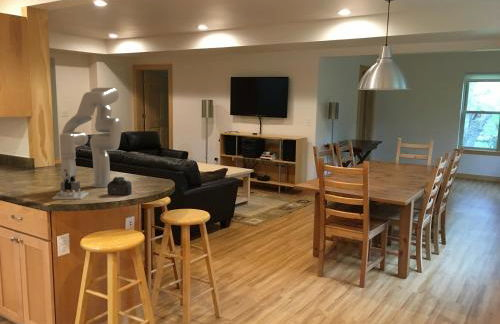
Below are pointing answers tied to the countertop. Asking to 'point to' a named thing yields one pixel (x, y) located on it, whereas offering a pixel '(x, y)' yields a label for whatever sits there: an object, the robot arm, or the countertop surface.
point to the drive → (74, 185)
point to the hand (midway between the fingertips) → (70, 188)
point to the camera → (119, 186)
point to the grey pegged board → (70, 195)
